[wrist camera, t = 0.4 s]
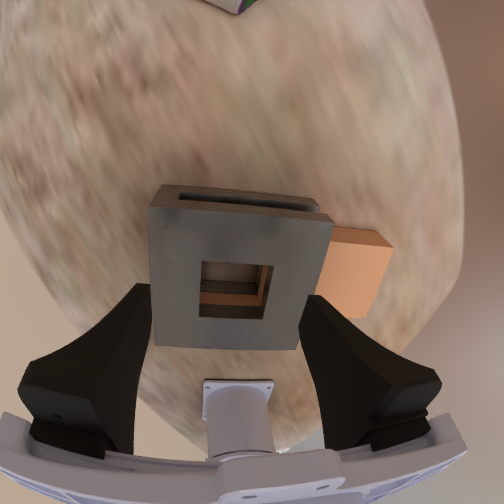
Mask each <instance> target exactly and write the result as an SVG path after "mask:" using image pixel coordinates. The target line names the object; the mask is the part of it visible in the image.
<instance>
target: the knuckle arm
mask: <svg viewBox="0 0 504 504" xmlns="http://www.w3.org/2000/svg"><path fill="white" fill-rule="evenodd" d="M393 249H394V247H393V246H392V245H391V244H390V243H389V242H388V241H386V240H385V239H384V238H383V237H382V236H381V235H380V234H379V233H378V232H375V231H367V230H359V229H351V228H343V227H334V229H333V232H332V236H331V240H330V243H329V247H328V250H327V254H326V257H325V261H324V264H323V267H322V271H321V274H320V277H319V280H318V284H317V287H316V290H315V293H314V295H321V296H322V297H324V298H325V299H326V300H327V301H328V302H329V303H330V304H331V305H332V306H333V307H335V308H336V309H337V310H338V311H339V312H340V313H341V314H342V315H343V316H344V317H345V318H365V317H366V315H367V313H368V311H369V308H370V306H371V304H372V302H373V299H374V297H375V295H376V292H377V290H378V288H379V285H380V283H381V280H382V278H383V275H384V273H385V270H386V268H387V265H388V263H389V260H390V258H391V255H392V252H393ZM267 269H268V265H263V269H262V274H261V279H260V284H259V290H258V295H244V294H225V293H209V292H200V300H199V303H202V304H219V305H239V306H260V303H261V298H262V293H263V288H264V283H265V279H266V274H267Z"/></svg>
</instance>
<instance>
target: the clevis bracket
mask: <svg viewBox="0 0 504 504" xmlns="http://www.w3.org/2000/svg"><path fill="white" fill-rule="evenodd" d="M319 207H320V206H319V205H318V204H317V203H316V202H315V200H314V199H309V198H301V197H293V196H285V195H277V194H268V193H259V192H249V191H239V190H229V189H218V188H206V187H193V186H178V185H161V187H160V189H159V190H158V192H157V194H156V195H155V197H154V199H153V200H152V202H151V204H150V205H149V264H150V285H151V300H152V313H153V325H154V335H155V344H156V345H161V346H173V347H187V348H204V349H227V350H296V347H297V344H298V341H299V338H300V336H299V330H298V325H299V322H300V319H301V316H302V313H303V310H304V307H305V304H306V301H307V298H308V295H314V293H315V290H316V287H317V284H318V280H319V277H320V274H321V271H322V267H323V264H324V261H325V257H326V254H327V250H328V247H329V243H330V240H331V236H332V232H333V229H334V225H335V223H334V222H333V221H332V219H331V218H330V217H329V216H328V215H327V214H322V213H318V211H319ZM202 261H210V262H225V263H240V264H255V265H258V269H257V275H256V280H255V283H237V282H220V281H205V280H201V265H202ZM263 265H268V269H267V274H266V279H265V283H264V288H263V293H262V298H261V303H260V306H239V305H219V304H202V303H199V300H200V292H209V293H225V294H244V295H258V290H259V284H260V279H261V274H262V269H263Z"/></svg>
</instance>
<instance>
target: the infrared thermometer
mask: <svg viewBox="0 0 504 504" xmlns="http://www.w3.org/2000/svg"><path fill="white" fill-rule="evenodd" d="M205 1H207V2H209V3H212V4H214V5H216V6H218V7H220V8H222V9H224V10H227V11H229V12H231V13H233V14H237V15H239V14H241V13H242V12H243V11H245V10H246V9H247V8H248V7H249V6H250V5H252V4H253V3H254V2H255V1H257V0H205Z"/></svg>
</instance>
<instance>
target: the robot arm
mask: <svg viewBox="0 0 504 504" xmlns="http://www.w3.org/2000/svg"><path fill="white" fill-rule="evenodd" d="M151 325H152V308H151V290H150V284H142V283H137V284H135V285H134V286H133V288H132V289H131V290H130V291H129V292H128V293H127V294H126V296H125V297H124V298H123V299H122V300H121V301H120V302H119V303H118V304H117V305H116V306H115V307H114V308H113V309H112V310H111V311H110V312H109V313H108V314H107V315H106V316H105V317H104V318H103V319H102V320H101V321H100V322H99V323H97V324H96V325H95V326H94V327H93V328H91V329H90V330H89V331H88V332H86V333H85V334H84V335H82V336H80V337H79V338H77V339H76V340H74V341H73V342H71V343H70V344H68V345H66V346H64V347H63V348H61V349H59V350H57V351H55V352H53V353H51V354H49V355H47V356H44V357H41V358H39V359H37V360H34V361H31V362H30V363H29V365H28V367H27V369H26V370H25V373H24V375H23V377H22V380H21V382H20V384H19V387H18V394H19V397H20V398H21V400H22V402H23V403H24V404H25V406H26V407H27V409H28V410H29V411H30V413H31V414H32V415H33V417H34V419H33V422H32V424H31V423H30V422H28V421H27V420H25V419H23V418H20V417H18V416H15V415H12V414H10V413H8V412H3V414H2V417H1V420H0V471H1V472H2V473H4V474H5V475H6V476H8V477H9V478H10V479H12V480H13V481H15V482H16V483H18V484H19V485H22V486H24V487H26V488H28V489H31V490H33V491H35V492H38V493H40V494H43V495H45V496H47V497H50V498H53V499H55V500H58V501H61V502H64V503H66V504H369V503H371V502H374V501H377V500H380V499H382V498H385V497H387V496H389V495H392V494H394V493H396V492H399V491H401V490H404V489H406V488H408V487H410V486H412V485H415V484H417V483H419V482H421V481H423V480H425V479H427V478H429V477H432V476H434V475H436V474H437V473H439V472H440V471H442V470H443V469H445V468H446V467H447V466H449V465H450V464H452V463H453V462H454V461H456V460H457V459H458V458H460V457H461V456H462V455H463V454H465V453H466V452H467V451H468V448H467V446H466V444H465V442H464V440H463V438H462V436H461V434H460V432H459V430H458V429H457V427H456V425H455V423H454V421H453V419H452V418H451V416H450V414H449V413H445V414H442V415H439V416H437V417H434V418H432V419H431V420H429V421H427V419H426V417H425V416H427V415H428V412H427V410H426V407H427V406H428V405H429V404H430V402H431V401H432V400H433V399H434V398H435V397H436V396H437V394H438V393H439V391H440V389H441V387H442V382H441V380H440V379H439V377H438V375H437V374H436V372H435V371H434V369H431V368H428V367H425V366H423V365H419V364H417V363H414V362H412V361H410V360H408V359H405V358H403V357H401V356H399V355H397V354H395V353H394V352H392V351H390V350H388V349H386V348H385V347H383V346H382V345H380V344H379V343H377V342H376V341H374V340H373V339H371V338H370V337H368V336H367V335H366V334H364V333H363V332H362V331H361V330H359V329H358V328H357V327H356V326H355V325H353V324H352V323H351V322H350V321H349V320H348V319H347V318H345V317H344V316H343V315H342V314H341V313H340V312H339V311H338V310H337V309H336V308H335V307H333V306H332V305H331V304H330V303H329V302H328V301H327V300H326V299H325V298H324V297H322V296H321V295H308V298H307V301H306V304H305V307H304V310H303V313H302V316H301V319H300V322H299V325H298V330H299V336H300V341H301V346H302V349H303V352H304V355H305V358H306V361H307V363H308V366H309V369H310V372H311V375H312V378H313V381H314V384H315V388H316V392H317V397H318V402H319V407H320V413H321V419H322V426H323V434H324V442H325V449H318V450H311V451H304V452H296V453H287V454H279V453H278V452H277V453H276V450H275V445H274V440H273V434H272V429H271V424H270V418H269V413H268V407H267V403H268V401H269V398H270V395H271V392H272V390H273V387H274V382H273V381H219V380H206V381H204V382H203V407H202V420H203V421H207V442H208V458H206V459H205V462H200V461H182V460H169V459H159V458H150V457H142V456H135V455H133V452H134V447H133V445H134V443H133V441H134V421H135V408H136V398H137V389H138V383H139V377H140V373H141V369H142V365H143V362H144V358H145V354H146V350H147V346H148V342H149V339H150V332H151Z"/></svg>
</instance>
